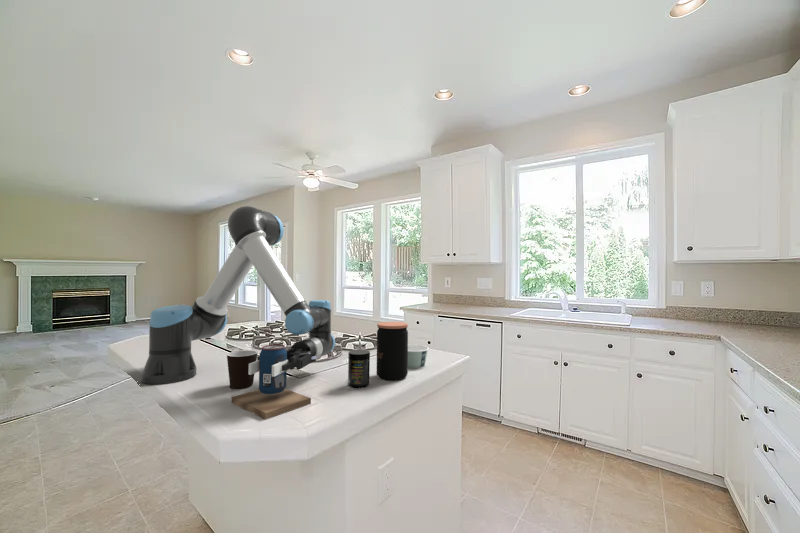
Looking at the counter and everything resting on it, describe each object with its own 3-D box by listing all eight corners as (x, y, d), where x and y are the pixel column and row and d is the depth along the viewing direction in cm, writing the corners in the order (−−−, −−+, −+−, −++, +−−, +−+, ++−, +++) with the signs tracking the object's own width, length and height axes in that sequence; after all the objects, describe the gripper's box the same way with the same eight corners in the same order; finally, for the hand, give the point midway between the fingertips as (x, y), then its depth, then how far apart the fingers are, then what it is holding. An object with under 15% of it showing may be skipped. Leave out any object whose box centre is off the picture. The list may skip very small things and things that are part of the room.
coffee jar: (379, 371, 122) (380, 321, 122) (409, 373, 120) (409, 322, 121) (373, 380, 111) (374, 325, 112) (405, 382, 110) (406, 326, 110)
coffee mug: (244, 391, 99) (245, 357, 100) (219, 389, 101) (220, 355, 101) (268, 380, 111) (268, 349, 111) (244, 378, 112) (245, 347, 113)
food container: (391, 364, 133) (391, 347, 133) (413, 359, 141) (413, 343, 141) (413, 370, 124) (413, 352, 124) (435, 365, 132) (435, 348, 132)
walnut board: (231, 402, 91) (231, 396, 91) (275, 390, 101) (275, 385, 101) (265, 419, 80) (265, 413, 80) (310, 403, 90) (310, 397, 90)
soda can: (266, 386, 95) (267, 343, 95) (290, 387, 94) (291, 344, 94) (253, 395, 88) (254, 348, 88) (279, 396, 87) (280, 349, 88)
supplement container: (372, 387, 104) (372, 353, 104) (350, 390, 102) (350, 355, 102) (366, 381, 110) (366, 349, 111) (345, 383, 108) (346, 350, 108)
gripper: (333, 364, 107) (294, 388, 84) (279, 360, 111) (228, 382, 88) (333, 340, 107) (295, 357, 84) (280, 337, 111) (229, 353, 88)
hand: (261, 370), depth 86 cm, fingers closed on soda can, 6 cm apart
